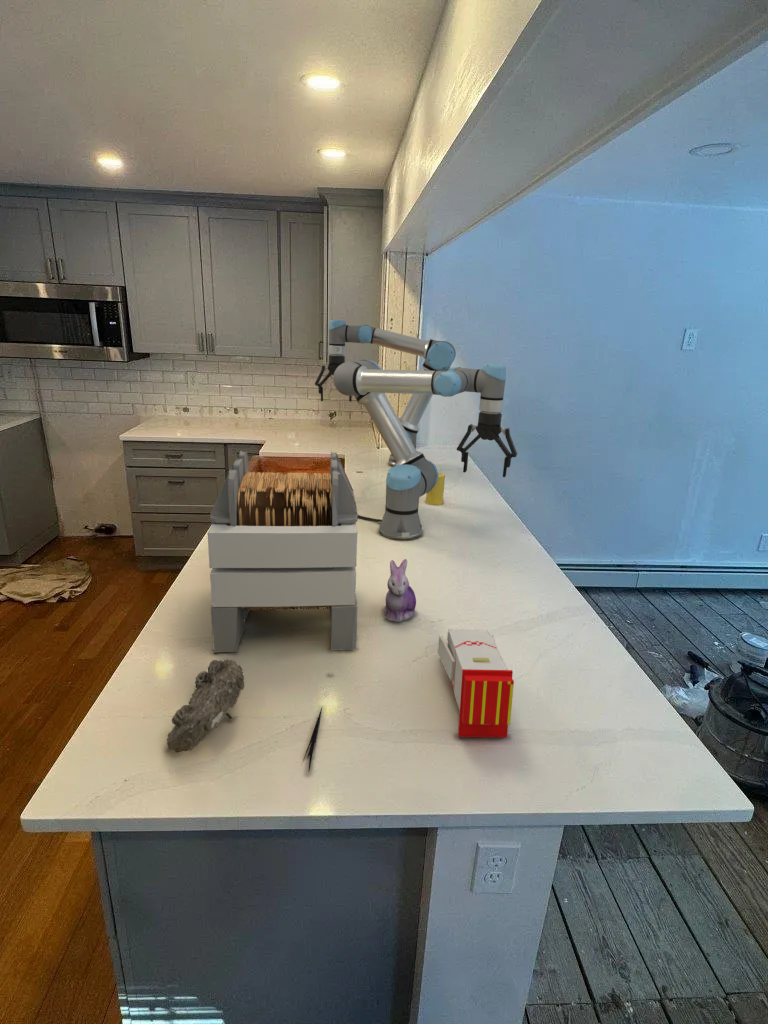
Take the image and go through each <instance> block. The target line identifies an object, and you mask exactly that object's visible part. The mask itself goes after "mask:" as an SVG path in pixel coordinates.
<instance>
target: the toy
mask: <svg viewBox="0 0 768 1024" xmlns="http://www.w3.org/2000/svg"><path fill="white" fill-rule="evenodd" d="M446 640H447V643H446V641H445V639H444V636H443V635H442V634H439V637H438V646H437V656H438V657H439V659H440V661H441V663H442V666H443V668H444V670H445V672H446V674H447V677H448V679H449V681H450V684H451V687H452V690H453V693H454V697H455V701H456V705H457V708H458V711H459V714H458V715H459V716H458V730H457V731H458V732H457V737H458V738H508V731H509V726H510V725H511V717H512V707H513V697H514V696H513V695H514V684H515V680H514V679H513V673H514V671H513V670H512V669H508V667H507V665H506V662H505V661H504V659H503V658H502V655H501V653H500V651H499V649H498V647H497V643H496V639H495V637H494V635H493V634H491V632H490V631H489V629H467V628H466V629H465V628H463V629H461V628H460V629H459V628H448V630H447V639H446Z"/></svg>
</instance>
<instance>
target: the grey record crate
mask: <svg viewBox="0 0 768 1024" xmlns="http://www.w3.org/2000/svg"><path fill="white" fill-rule="evenodd" d="M329 465H330V466H329V467H330V469H329V470H330V472H324V473H321V472H313V474H309V473H308V472H286V473H285V472H284V473H283V472H274V471H273V472H269V471H266V472H264V471H263V472H260V471H259V472H258V471H257V472H255V471H249V459H248V451H242V450H240V451H239V453H238V455H237V457H236V458H235V460H234V463H233V465H232V467H231V468H230V469H229V471H228V473H227V475H226V477H225V480H224V482H223V484H222V487H221V489H220V491H219V493H218V496H217V498H216V500H215V502H214V504H213V507H212V508H211V511H210V514H209V519H210V523H211V525H210V527H209V529H208V531H207V532H206V534H207V548H208V562H209V563H208V565H209V569H211V570H210V573H209V575H210V576H209V577H210V590H211V591H210V592H211V593H210V594H211V606H210V617H211V633H212V637H213V638H212V639H213V649H212V652H213V653H214V654H215V653H216V654H220V653H236V652H237V649H238V647H239V645H240V642H241V639H242V637H243V635H244V632H245V625H246V624H245V621H247V619H248V615H249V611H268V610H270V611H273V610H274V611H275V610H277V611H278V610H279V611H280V610H284V611H286V610H290V611H291V610H294V611H295V610H325V609H326V610H329V619H330V621H329V622H330V623H329V625H330V626H329V627H330V628H329V629H330V650H331V651H351V652H353V651H354V650H355V649H357V638H358V635H357V631H358V602H357V601H358V600H357V593H356V590H357V589H356V588H357V569H356V568H357V555H358V553H357V551H358V529H357V522H358V519H359V518H358V515H359V513H358V507H357V502H356V497H355V493H354V488H353V486H352V484H351V481H350V479H349V478H348V475H347V473H346V471H345V469H344V466H343V464H342V461H341V460H340V458H339V456H338V453H337V452H333V451H330V463H329Z"/></svg>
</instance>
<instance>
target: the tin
mask: <svg viewBox="0 0 768 1024" xmlns="http://www.w3.org/2000/svg"><path fill="white" fill-rule="evenodd" d="M445 481H446V474H445V473H443V472H439V471H438V481H437V484H436V485H435V487H434V488H433V489H432V490H431V491H430V492H428V493H426V494H425V495H426V496H425V503H426V504H427V505H431V506H441V505H443V503H444V493H445Z"/></svg>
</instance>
